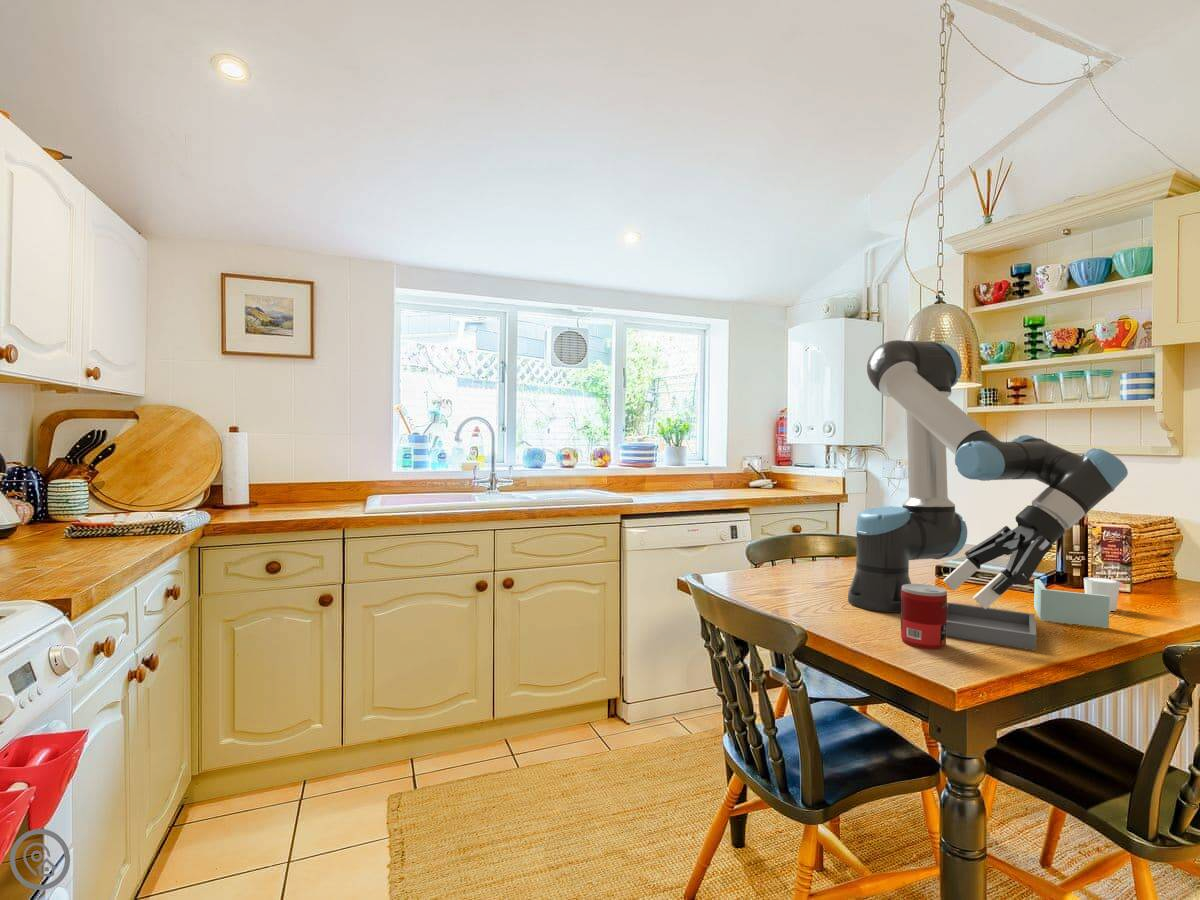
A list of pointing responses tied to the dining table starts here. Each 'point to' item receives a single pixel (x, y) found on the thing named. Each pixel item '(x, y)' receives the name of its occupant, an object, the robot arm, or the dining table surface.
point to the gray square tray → (991, 625)
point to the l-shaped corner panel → (1071, 606)
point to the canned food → (923, 616)
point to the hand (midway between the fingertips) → (962, 594)
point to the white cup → (1103, 589)
